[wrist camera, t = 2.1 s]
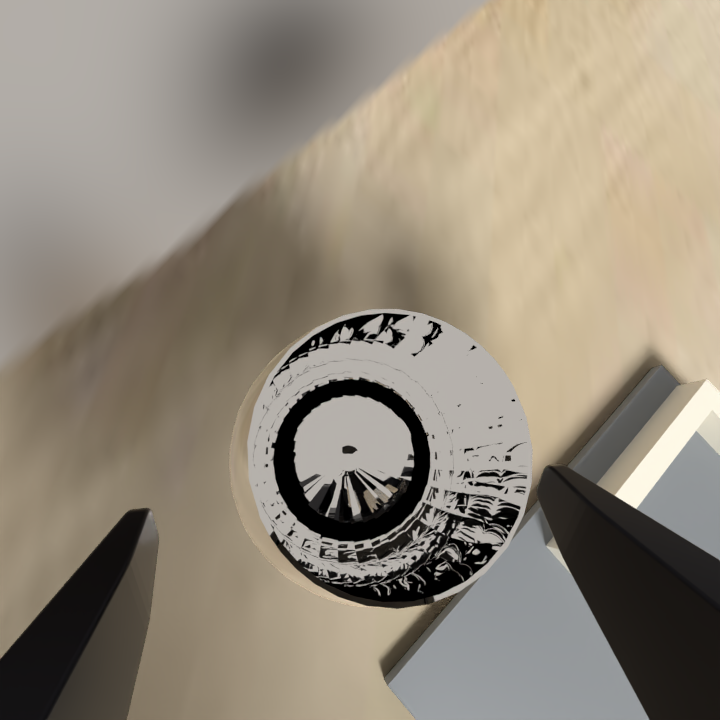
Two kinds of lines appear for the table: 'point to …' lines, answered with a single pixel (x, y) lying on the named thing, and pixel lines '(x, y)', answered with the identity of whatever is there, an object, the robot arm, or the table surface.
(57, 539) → the table surface
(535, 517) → the square frame board
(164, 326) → the table surface
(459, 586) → the wineglass
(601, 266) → the table surface
